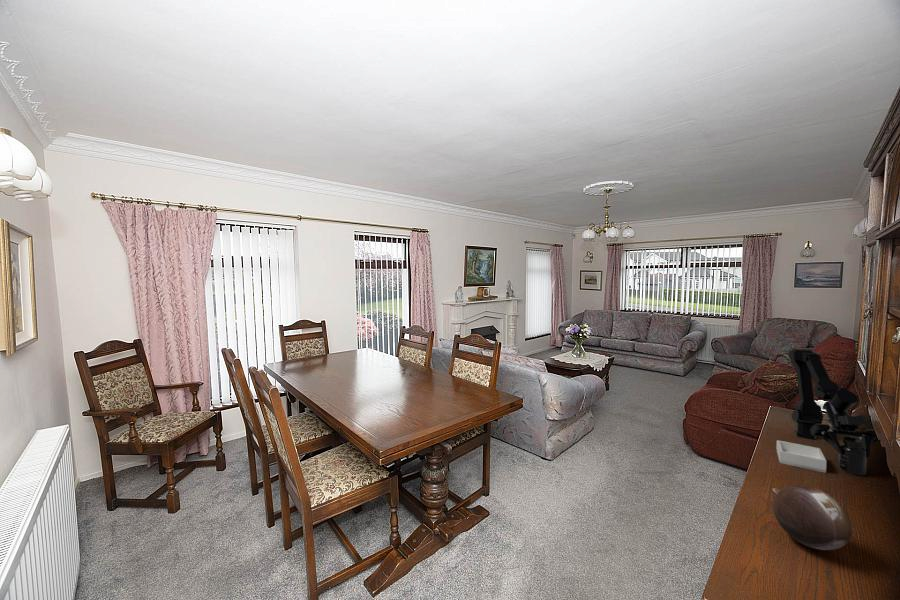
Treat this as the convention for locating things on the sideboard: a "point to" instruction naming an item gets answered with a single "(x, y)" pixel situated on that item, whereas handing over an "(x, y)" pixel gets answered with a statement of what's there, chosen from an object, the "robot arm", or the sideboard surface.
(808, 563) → the sideboard surface
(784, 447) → the tray
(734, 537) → the sideboard surface
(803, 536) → the dark glossy egg
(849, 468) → the supplement bottle
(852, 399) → the robot arm
